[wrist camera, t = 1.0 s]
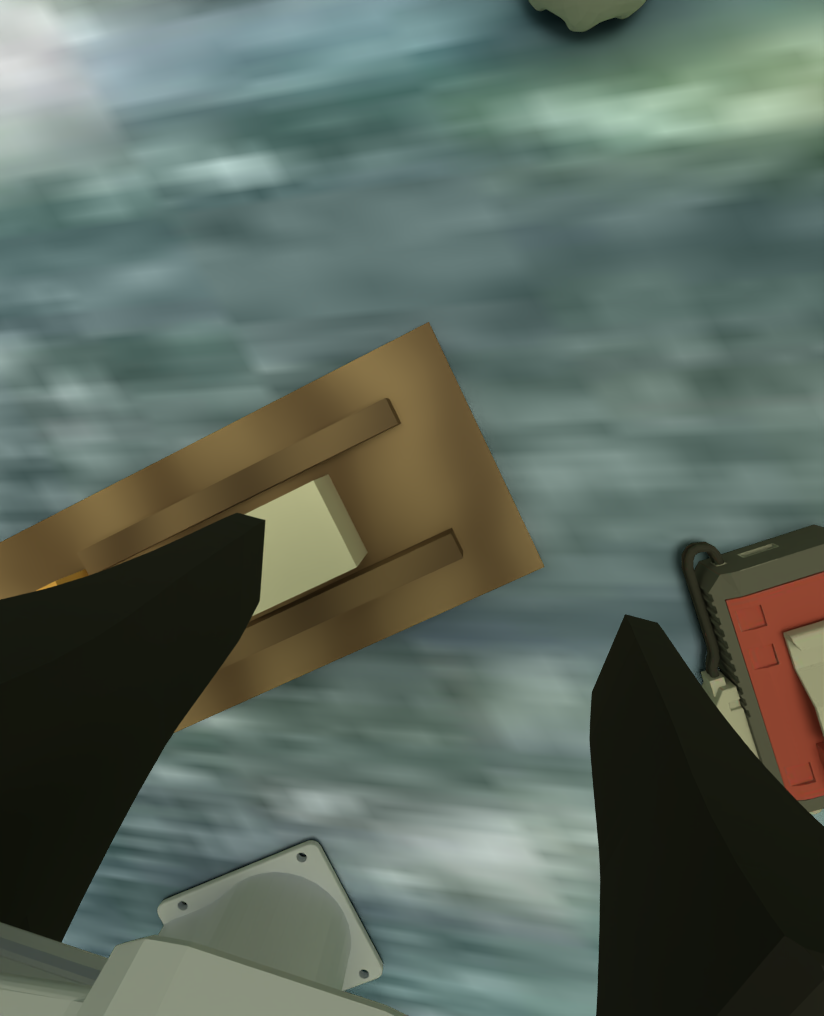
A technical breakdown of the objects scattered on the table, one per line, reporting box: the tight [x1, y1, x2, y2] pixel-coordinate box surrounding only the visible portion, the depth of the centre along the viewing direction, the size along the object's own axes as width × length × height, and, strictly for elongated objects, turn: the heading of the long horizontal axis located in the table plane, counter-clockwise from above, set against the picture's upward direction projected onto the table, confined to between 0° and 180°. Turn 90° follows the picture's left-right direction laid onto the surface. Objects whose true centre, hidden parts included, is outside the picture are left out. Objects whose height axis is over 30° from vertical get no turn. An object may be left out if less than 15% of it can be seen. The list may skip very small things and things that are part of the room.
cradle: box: [0, 322, 544, 733], centre depth 31 cm, size 30×12×2 cm, turn 116°
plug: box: [244, 474, 368, 616], centre depth 29 cm, size 6×4×3 cm, turn 115°
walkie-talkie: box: [682, 525, 824, 814], centre depth 29 cm, size 9×4×20 cm
